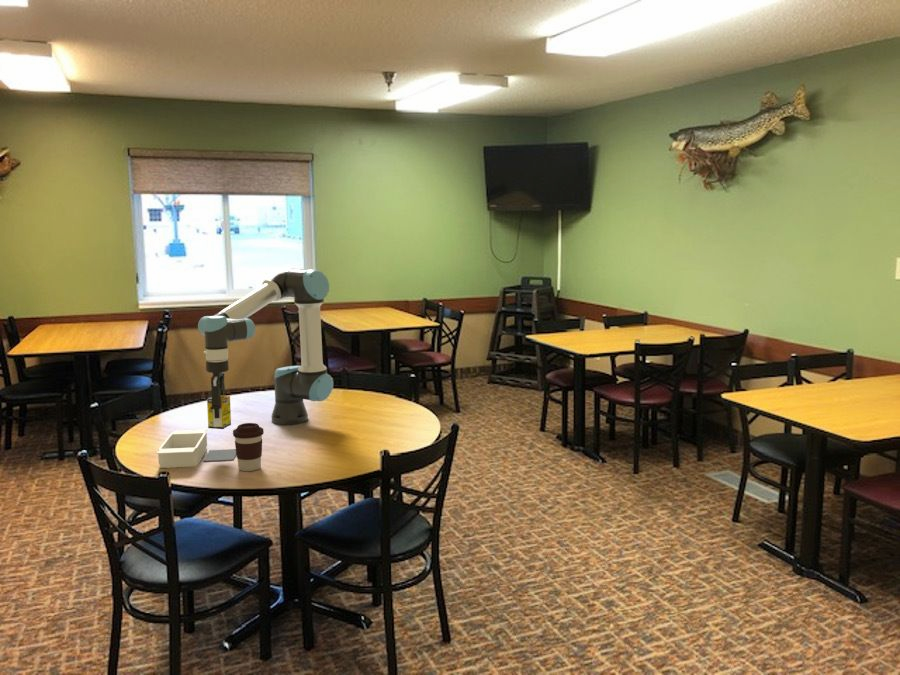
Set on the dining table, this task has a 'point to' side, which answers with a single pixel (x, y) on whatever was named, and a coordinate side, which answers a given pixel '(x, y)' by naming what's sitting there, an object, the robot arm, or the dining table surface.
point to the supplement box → (224, 410)
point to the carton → (183, 449)
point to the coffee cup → (248, 446)
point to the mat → (220, 455)
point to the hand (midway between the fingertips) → (219, 423)
